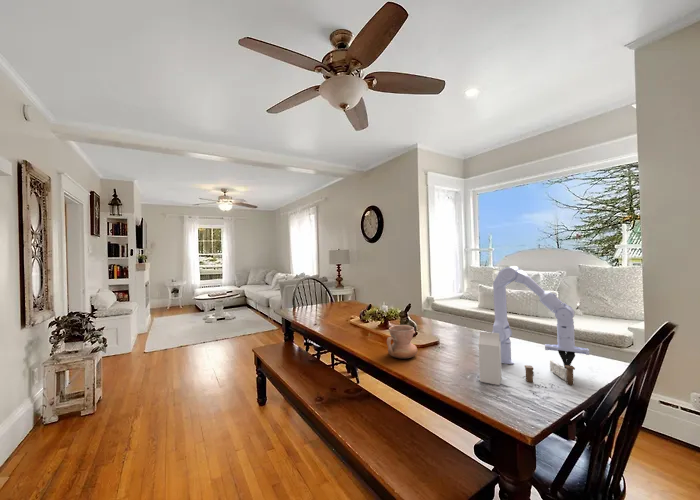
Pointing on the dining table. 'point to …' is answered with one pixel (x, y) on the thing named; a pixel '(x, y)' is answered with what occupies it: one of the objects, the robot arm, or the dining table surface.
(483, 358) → the milk carton
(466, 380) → the dining table surface
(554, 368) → the gate
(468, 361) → the dining table surface
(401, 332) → the ceramic jug
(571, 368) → the hinge post
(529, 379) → the post
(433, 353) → the dining table surface
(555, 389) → the dining table surface
